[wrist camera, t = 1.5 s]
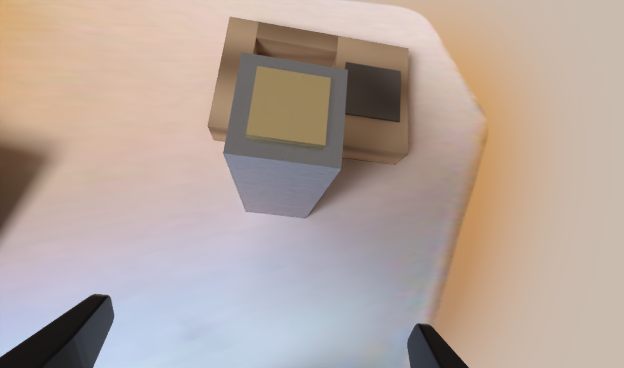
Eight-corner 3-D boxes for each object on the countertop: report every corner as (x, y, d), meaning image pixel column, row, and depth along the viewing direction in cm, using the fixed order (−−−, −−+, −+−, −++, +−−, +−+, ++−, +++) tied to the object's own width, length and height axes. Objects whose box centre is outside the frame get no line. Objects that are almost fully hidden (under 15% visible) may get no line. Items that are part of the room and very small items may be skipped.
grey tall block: (305, 218, 23) (343, 166, 12) (245, 211, 23) (222, 150, 11) (310, 162, 25) (349, 65, 13) (254, 155, 24) (241, 47, 12)
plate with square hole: (395, 164, 26) (409, 152, 23) (213, 140, 24) (207, 124, 21) (396, 67, 28) (409, 46, 26) (233, 39, 27) (229, 14, 24)
